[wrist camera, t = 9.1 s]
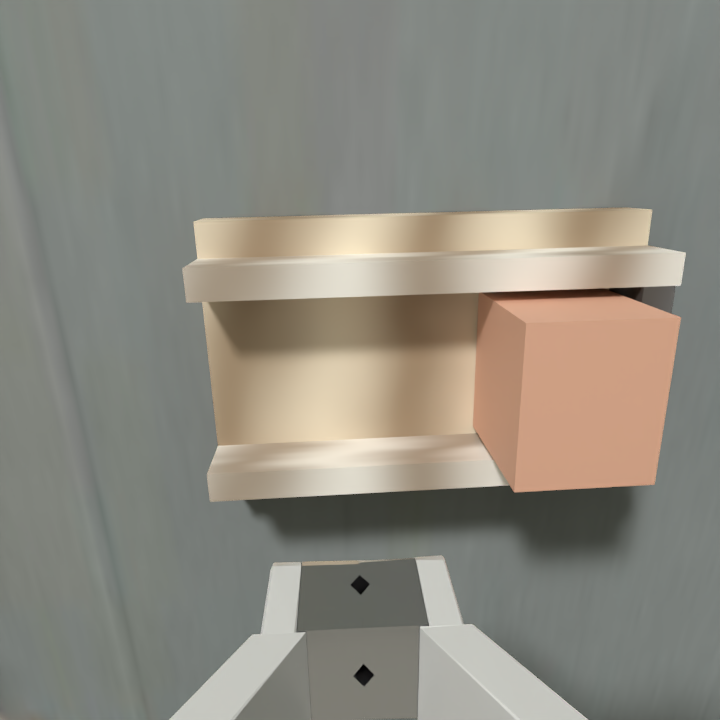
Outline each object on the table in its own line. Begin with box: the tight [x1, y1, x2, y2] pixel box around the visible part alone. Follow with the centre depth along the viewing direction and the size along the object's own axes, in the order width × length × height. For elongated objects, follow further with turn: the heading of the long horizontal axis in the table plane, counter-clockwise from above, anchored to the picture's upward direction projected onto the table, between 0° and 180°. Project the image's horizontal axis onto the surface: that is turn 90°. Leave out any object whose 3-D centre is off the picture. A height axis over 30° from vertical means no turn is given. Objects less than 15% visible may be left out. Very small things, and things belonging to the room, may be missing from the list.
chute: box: [182, 208, 686, 502], centre depth 23 cm, size 18×12×4 cm, turn 92°
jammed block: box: [473, 288, 681, 492], centre depth 21 cm, size 5×6×6 cm
